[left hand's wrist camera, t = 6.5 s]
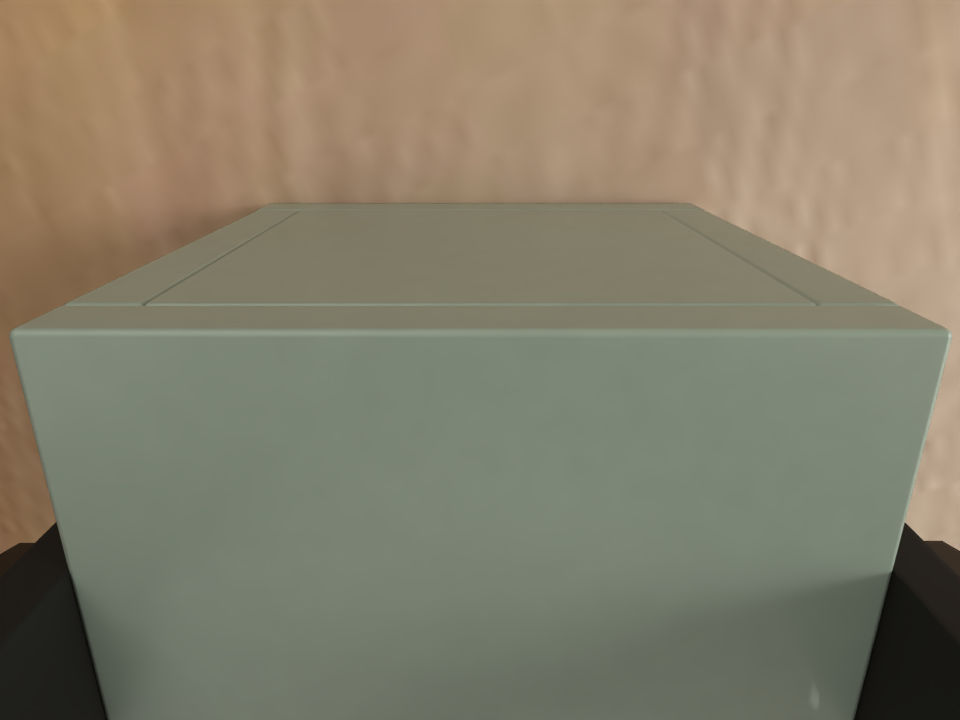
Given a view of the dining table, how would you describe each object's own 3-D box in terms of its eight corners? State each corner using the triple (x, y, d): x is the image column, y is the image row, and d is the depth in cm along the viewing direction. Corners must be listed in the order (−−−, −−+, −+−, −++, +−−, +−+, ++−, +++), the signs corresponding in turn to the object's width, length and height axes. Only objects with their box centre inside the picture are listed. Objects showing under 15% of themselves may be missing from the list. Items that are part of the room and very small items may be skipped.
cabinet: (628, 799, 24) (722, 1243, 15) (332, 799, 24) (238, 1242, 15) (692, 202, 17) (958, 330, 7) (268, 203, 17) (3, 329, 7)
